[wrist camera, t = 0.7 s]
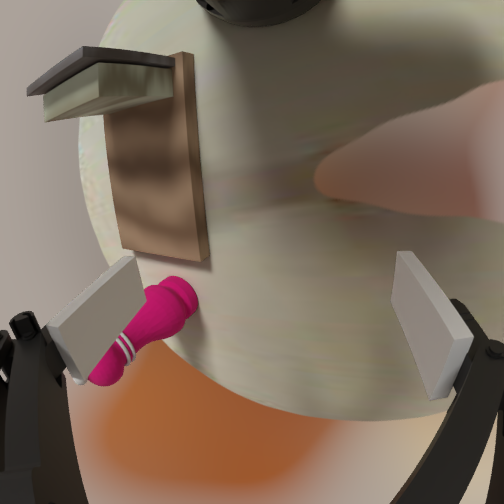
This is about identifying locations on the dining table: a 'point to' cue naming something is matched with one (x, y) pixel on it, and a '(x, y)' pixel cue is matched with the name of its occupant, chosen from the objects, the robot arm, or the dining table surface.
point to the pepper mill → (146, 327)
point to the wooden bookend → (140, 141)
